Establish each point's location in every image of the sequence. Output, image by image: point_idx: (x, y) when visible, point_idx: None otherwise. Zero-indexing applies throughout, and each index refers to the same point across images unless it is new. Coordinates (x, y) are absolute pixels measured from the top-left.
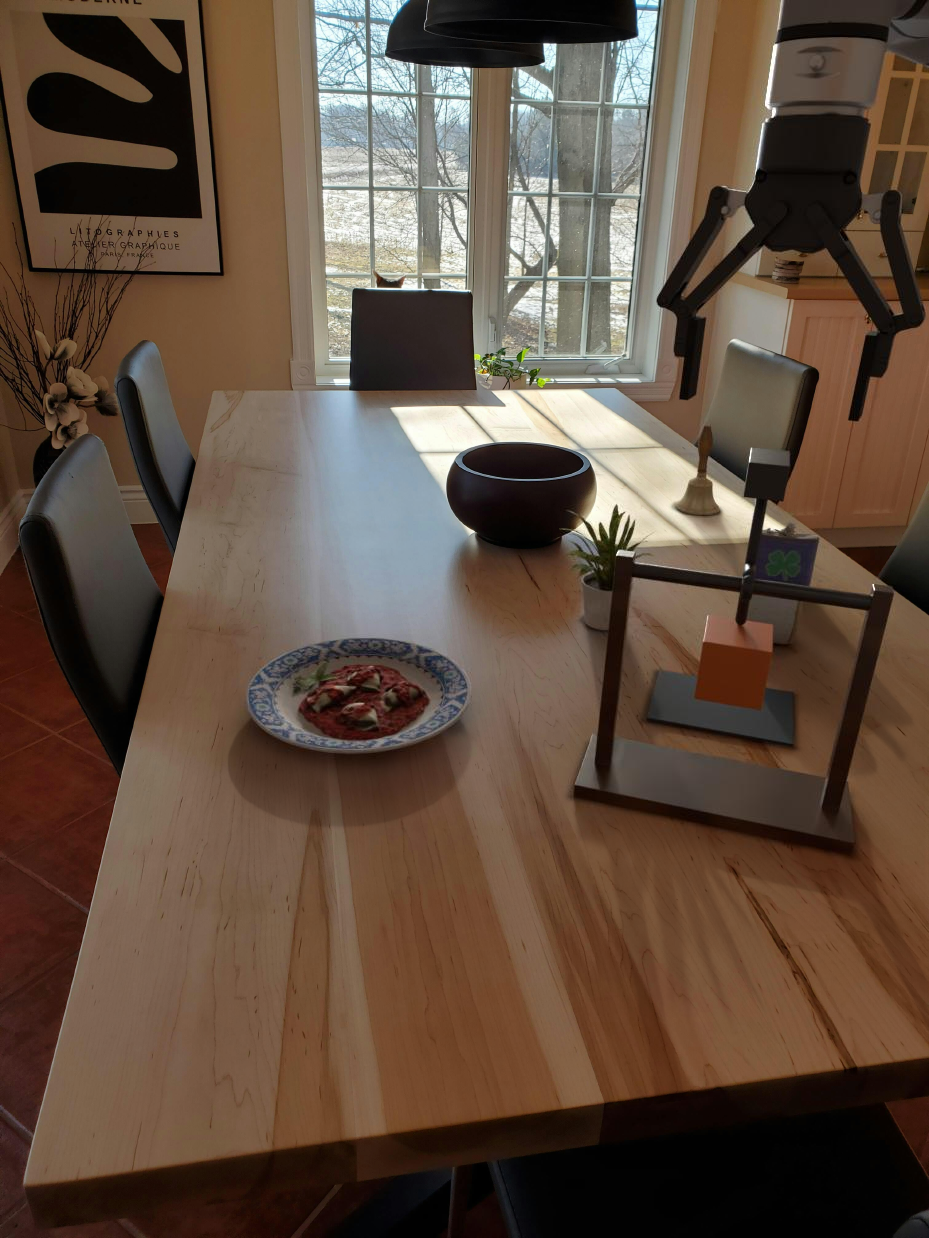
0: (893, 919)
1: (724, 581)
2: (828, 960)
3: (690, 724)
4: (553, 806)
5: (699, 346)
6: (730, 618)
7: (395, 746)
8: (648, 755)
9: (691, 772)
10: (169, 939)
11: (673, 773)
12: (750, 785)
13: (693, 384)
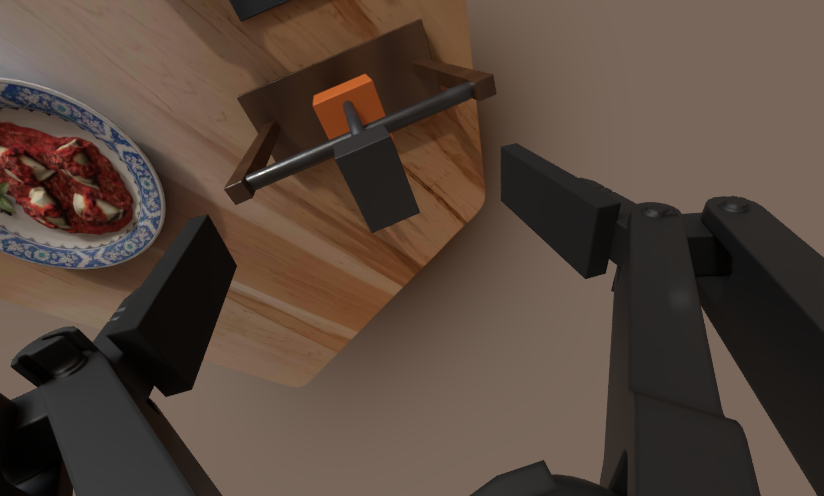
0: (468, 134)
1: None
2: (448, 182)
3: (277, 3)
4: None
5: (188, 299)
6: (334, 98)
7: (162, 222)
8: (290, 97)
9: None
10: (235, 347)
11: None
12: None
13: (216, 256)
